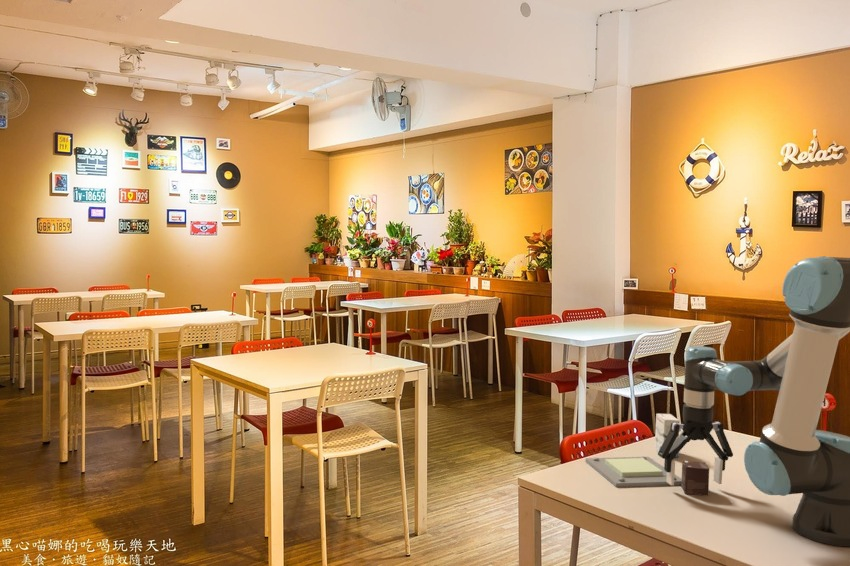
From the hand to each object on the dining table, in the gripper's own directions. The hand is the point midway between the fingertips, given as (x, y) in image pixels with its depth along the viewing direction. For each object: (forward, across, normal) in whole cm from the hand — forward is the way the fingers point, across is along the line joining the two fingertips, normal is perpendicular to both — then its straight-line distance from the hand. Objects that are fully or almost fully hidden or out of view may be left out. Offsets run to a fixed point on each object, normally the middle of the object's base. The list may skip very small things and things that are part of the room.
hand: (693, 483), depth 189 cm
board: (+2, +10, -16) cm, 19 cm away
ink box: (+3, -9, -33) cm, 34 cm away
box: (+2, 0, 0) cm, 2 cm away
